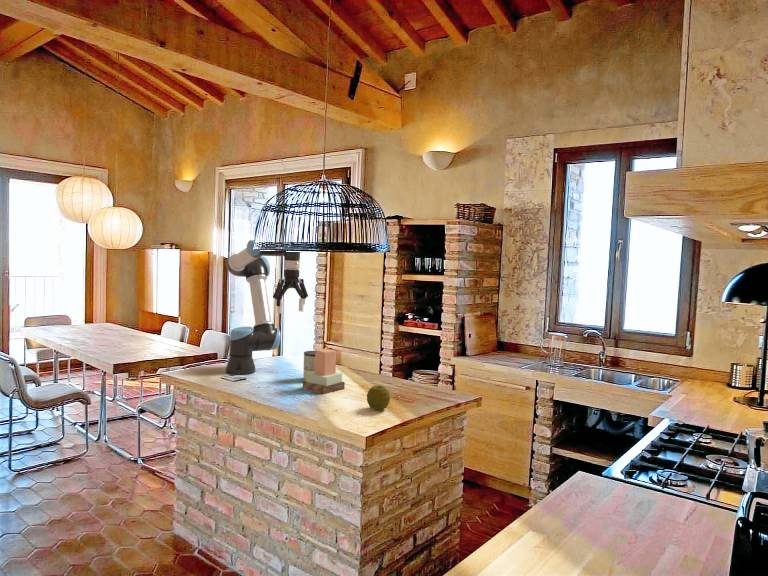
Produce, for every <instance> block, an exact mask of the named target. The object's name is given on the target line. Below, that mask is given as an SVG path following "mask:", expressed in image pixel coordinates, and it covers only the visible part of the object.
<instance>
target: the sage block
mask: <svg viewBox="0 0 768 576" xmlns="http://www.w3.org/2000/svg"><path fill="white" fill-rule="evenodd" d="M306 382H309V383H314V384H319V385H324V386H328V385H332V384H335V383H338V382H343V373H342V372H338V371H336V374H332V375H326V376H323V375H320V374H316V373H315V372H311V373H307V377H306Z"/></svg>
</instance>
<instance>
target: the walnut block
mask: <svg viewBox="0 0 768 576" xmlns="http://www.w3.org/2000/svg"><path fill="white" fill-rule="evenodd" d="M345 383H346V382H345V381H342V382H338V383H335V384H332V385H328V386H324V385H319V384H314V383H309V382H306V381H304V380H302V390H307V391H310V392H314V393H318V394H320V395H327V394H330V393H334V392H338V391H342V390H345Z"/></svg>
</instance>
